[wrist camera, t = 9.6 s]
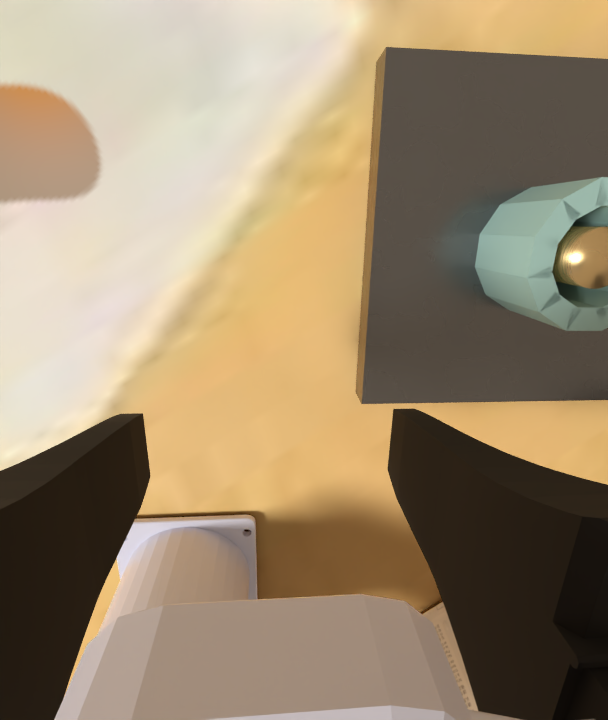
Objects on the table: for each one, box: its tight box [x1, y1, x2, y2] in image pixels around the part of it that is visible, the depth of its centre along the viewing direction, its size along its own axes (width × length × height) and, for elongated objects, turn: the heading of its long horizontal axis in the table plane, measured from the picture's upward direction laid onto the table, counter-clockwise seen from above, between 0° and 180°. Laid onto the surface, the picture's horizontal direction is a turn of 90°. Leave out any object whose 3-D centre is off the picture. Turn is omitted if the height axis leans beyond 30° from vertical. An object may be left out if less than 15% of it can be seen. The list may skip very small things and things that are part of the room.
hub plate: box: [356, 47, 608, 404], centre depth 17 cm, size 15×15×6 cm
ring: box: [475, 177, 608, 331], centre depth 17 cm, size 5×5×4 cm
